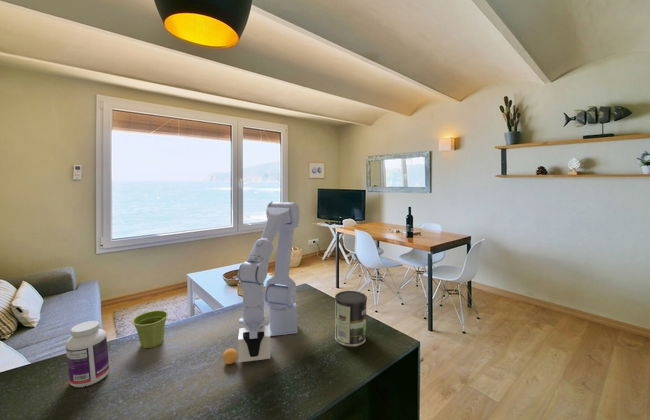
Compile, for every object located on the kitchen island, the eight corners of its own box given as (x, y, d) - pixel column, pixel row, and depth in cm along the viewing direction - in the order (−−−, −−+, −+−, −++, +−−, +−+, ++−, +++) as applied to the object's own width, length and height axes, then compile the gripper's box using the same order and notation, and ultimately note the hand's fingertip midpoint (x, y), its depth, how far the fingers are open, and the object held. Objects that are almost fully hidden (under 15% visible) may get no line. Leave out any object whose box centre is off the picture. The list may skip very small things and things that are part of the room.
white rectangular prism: (269, 346, 87) (269, 325, 86) (270, 358, 81) (270, 336, 80) (239, 349, 85) (239, 328, 84) (238, 362, 79) (238, 339, 78)
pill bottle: (104, 364, 81) (100, 315, 79) (113, 376, 76) (109, 324, 74) (66, 379, 74) (61, 326, 73) (73, 394, 69) (67, 338, 68)
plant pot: (142, 356, 84) (140, 328, 83) (129, 345, 90) (127, 318, 89) (174, 342, 92) (173, 316, 91) (161, 332, 97) (159, 307, 96)
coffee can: (366, 331, 99) (367, 291, 97) (365, 348, 89) (366, 304, 87) (337, 328, 101) (337, 289, 99) (332, 344, 91) (332, 301, 89)
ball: (228, 343, 83) (220, 355, 83) (227, 351, 79) (219, 364, 79) (240, 348, 84) (232, 360, 84) (240, 357, 80) (232, 369, 80)
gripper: (240, 294, 87) (241, 336, 89) (236, 317, 73) (238, 366, 75) (263, 292, 89) (264, 334, 90) (265, 314, 75) (265, 363, 76)
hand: (254, 348), depth 83 cm, fingers closed on white rectangular prism, 6 cm apart
